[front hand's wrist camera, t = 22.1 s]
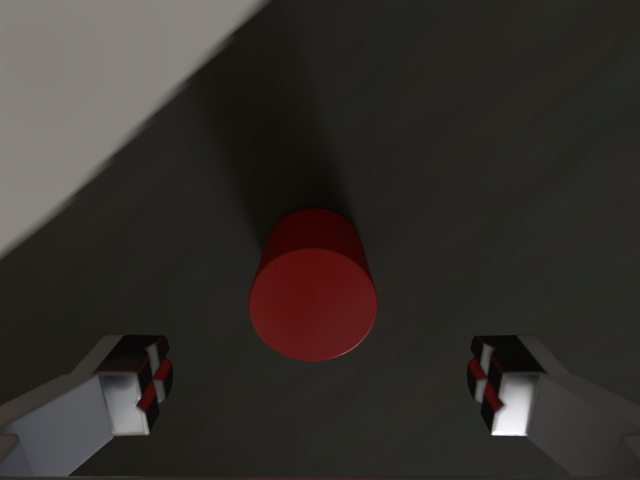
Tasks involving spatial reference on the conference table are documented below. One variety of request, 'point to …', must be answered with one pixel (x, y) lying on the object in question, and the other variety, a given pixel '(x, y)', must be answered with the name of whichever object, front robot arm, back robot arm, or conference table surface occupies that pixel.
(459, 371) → the conference table surface
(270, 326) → the tin
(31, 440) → the front robot arm
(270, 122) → the conference table surface
